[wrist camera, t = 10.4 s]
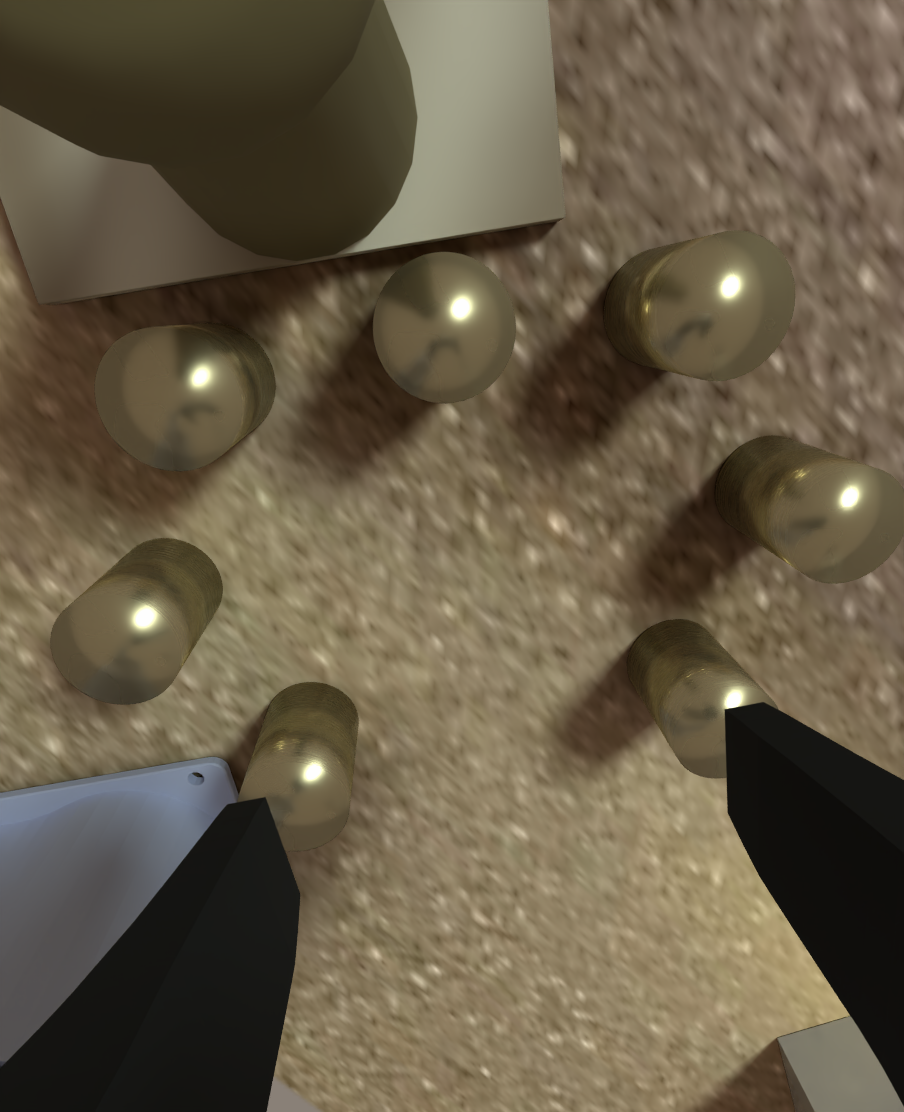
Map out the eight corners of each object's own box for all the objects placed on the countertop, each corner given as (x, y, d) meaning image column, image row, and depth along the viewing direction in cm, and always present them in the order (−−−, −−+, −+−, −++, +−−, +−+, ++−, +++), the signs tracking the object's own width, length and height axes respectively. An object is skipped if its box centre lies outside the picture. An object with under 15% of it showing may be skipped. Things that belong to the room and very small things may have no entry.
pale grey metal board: (55, 304, 17) (38, 304, 16) (-87, -99, 14) (-115, -121, 13) (558, 221, 17) (565, 217, 16) (522, -195, 14) (529, -224, 13)
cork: (127, 211, 15) (-427, 17, 5) (170, -104, 13) (-582, -1426, 3) (377, 295, 16) (334, 274, 6) (451, 13, 14) (566, -703, 4)
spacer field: (190, 781, 22) (147, 877, 18) (23, 331, 17) (-85, 338, 13) (803, 676, 22) (884, 750, 19) (825, 198, 17) (944, 168, 13)
